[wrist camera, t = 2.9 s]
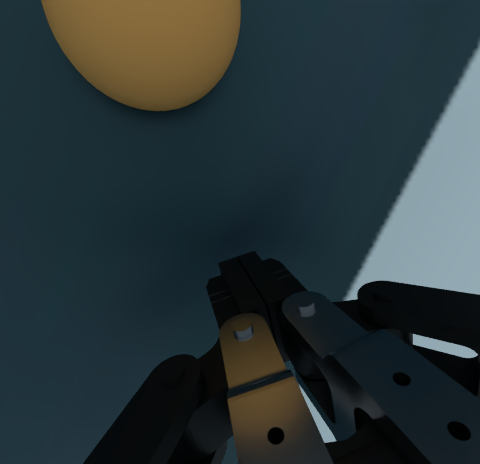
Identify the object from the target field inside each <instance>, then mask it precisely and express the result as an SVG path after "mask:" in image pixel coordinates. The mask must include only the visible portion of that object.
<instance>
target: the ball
mask: <svg viewBox="0 0 480 464" xmlns="http://www.w3.org/2000/svg"><path fill="white" fill-rule="evenodd" d="M41 1H42V5H43V8H44V11H45V14H46V17H47V20H48V23H49V26H50V28H51V30H52V32H53V34H54V36H55V39H56V40H57V42H58V44H59V45H60V47H61V49H62V50H63V52H64V54H65V55H66V56H67V58H68V59H69V60H70V62H71V63H72V64H73V66H74V67H75V68H76V69H77V70H78V71H79V72H80V74H81V75H82V76H83V77H84V78H85V79H86V80H87V81H88V82H90V83H91V84H92V85H93V86H94V87H95V88H97V89H98V90H100V91H101V92H102V93H104V94H105V95H107V96H108V97H110V98H112V99H114V100H116V101H118V102H120V103H122V104H125V105H128V106H130V107H134V108H138V109H142V110H149V111H168V110H174V109H179V108H182V107H185V106H188V105H190V104H192V103H194V102H196V101H197V100H199V99H200V98H202V97H203V96H205V95H206V94H207V93H208V92H209V91H210V90H211V89H213V88H214V86H215V85H216V84H217V83H218V81H219V80H220V79H221V78H222V76H223V75H224V73H225V71H226V70H227V68H228V66H229V64H230V62H231V60H232V57H233V55H234V51H235V48H236V45H237V40H238V35H239V30H240V19H241V6H240V0H41Z"/></svg>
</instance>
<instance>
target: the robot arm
mask: <svg viewBox="0 0 480 464" xmlns="http://www.w3.org/2000/svg"><path fill="white" fill-rule="evenodd" d="M218 265H219V269H220V272H221V275H220V276H217V277H214V278H211V279H209V282H208V284H207V287H206V288H207V291H208V295H209V298H210V301H211V304H212V307H213V310H214V314H215V317H216V320H217V323H218V326H219V330H220V331H219V338H218V341H217V342H216V344H215V345H214V347H213V348H212V349H211V350H210V351H208V352H207V353H206V354H205V355H203V356H202V357H200V358H199V359H196V358H195V357H193V356H191V355H186V354H182V355H176V356H173V357H170V358H168V359H166V360H165V361H163V362H162V363H160V364H159V365H158V366H157V367H156V368H155V369H154V370H153V371H152V372H151V374H150V375H149V376H148V378H147V379H146V380H145V382H144V383H143V384H142V386H141V387H140V388H139V390H138V391H137V392H136V394H135V395H134V396H133V398H132V399H131V400H130V402H129V403H128V404H127V406H126V407H125V408H124V410H123V411H122V412H121V414H120V415H119V416H118V418H117V419H116V420H115V422H114V423H113V424H112V426H111V427H110V428H109V430H108V431H107V432H106V434H105V435H104V436H103V438H102V439H101V440H100V442H99V443H98V444H97V446H96V447H95V448H94V450H93V451H92V452H91V454H90V455H89V456H88V458H87V459H86V460H85V462H84V463H83V464H221V462H222V460H223V457H224V455H225V452H226V449H227V440H228V439H229V438H230V437H231V436H232V435H234V441H235V447H236V452H237V458H238V464H480V295H477V294H469V293H463V292H457V291H450V290H444V289H437V288H430V287H424V286H417V285H410V284H404V283H397V282H391V281H375V282H370V283H367V284H365V285H363V286H362V287H361V288H360V289H359V290H358V294H357V295H358V299H357V300H349V301H342V302H331V301H330V300H329V299H327V298H326V297H325V296H324V295H322V294H320V293H317V292H311V291H307V290H306V289H305V288H304V287H303V285H302V284H301V283H300V282H299V281H298V280H297V279H296V278H295V277H294V276H293V275H291V273H290V272H289V271H288V269H286V267H285V266H284V265H283V264H282V263H281V262H280V261H277V260H274V259H272V258H269V259H266V260H263V261H262V260H261V259H260V257H259V256H258V255H257V254H256V252H255V251H252V252H249V253H246V254H243V255H240V256H237V258H236V257H235V258H232V259H229V260H226V261H223V262H220V263H218ZM413 334H416V335H421V336H425V337H429V338H433V339H437V340H441V341H446V342H450V343H454V344H458V345H462V346H466V347H468V348H471V349H472V350H474V351H475V352H476V353H477V354H478V356H476V357H474V358H462V357H459V356H455V355H451V354H447V353H443V352H439V351H435V350H432V349H428V348H424V347H420V346H416V345H413ZM289 360H290V361H291V362H292V364H293V366H294V369H295V374H296V378H297V381H298V383H299V384H300V386H301V387H302V389H303V390H304V392H305V393H306V394H307V396H308V397H309V399H310V400H311V402H312V403H313V405H314V406H315V408H316V409H317V411H318V412H319V414H320V415H321V417H322V418H323V420H324V421H325V423H326V424H327V426H328V427H329V429H330V430H331V432H332V433H333V435H334V437H335V439H336V440H337V441H335V442H329V443H324V441H323V439H322V437H321V435H320V433H319V430H318V428H317V426H316V423H315V421H314V419H313V417H312V415H311V412H310V410H309V408H308V406H307V404H306V402H305V399H304V397H303V395H302V393H301V390H300V388H299V386H298V384H297V381H296V379H295V377H294V375H293V373H292V372H291V370H288V371H287V369H286V366H285V364H284V362H287V361H289Z"/></svg>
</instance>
